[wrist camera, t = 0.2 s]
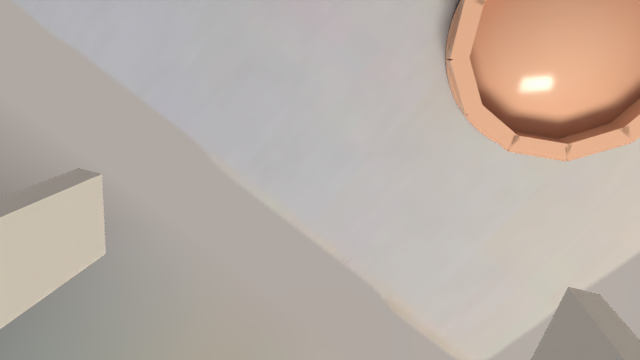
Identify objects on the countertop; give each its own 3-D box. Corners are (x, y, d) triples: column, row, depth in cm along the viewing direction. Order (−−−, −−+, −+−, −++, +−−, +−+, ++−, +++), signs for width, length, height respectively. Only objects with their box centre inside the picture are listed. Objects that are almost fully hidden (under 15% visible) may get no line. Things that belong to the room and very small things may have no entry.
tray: (479, -98, 29) (489, -114, 26) (743, -72, 27) (784, -87, 24) (423, 133, 36) (426, 140, 33) (630, 168, 33) (652, 179, 31)
